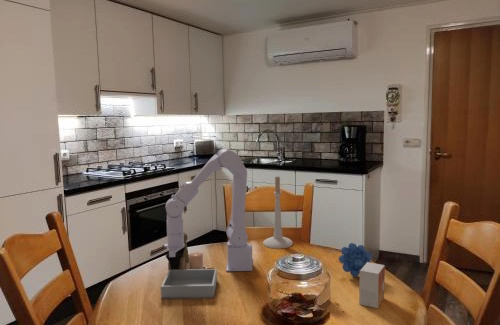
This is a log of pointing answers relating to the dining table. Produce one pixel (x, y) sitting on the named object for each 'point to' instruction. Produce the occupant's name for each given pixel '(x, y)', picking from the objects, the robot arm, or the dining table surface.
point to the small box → (371, 284)
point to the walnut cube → (182, 264)
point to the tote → (189, 284)
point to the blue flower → (354, 258)
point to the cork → (186, 249)
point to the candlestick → (277, 224)
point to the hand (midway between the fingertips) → (176, 269)
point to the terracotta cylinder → (196, 260)
